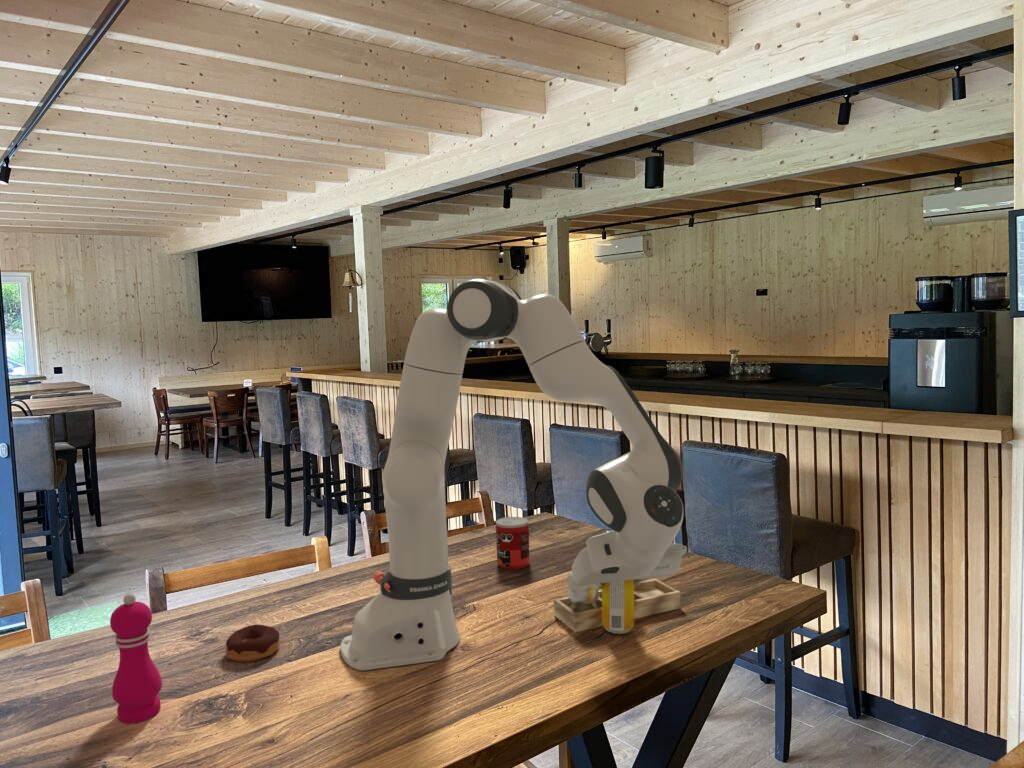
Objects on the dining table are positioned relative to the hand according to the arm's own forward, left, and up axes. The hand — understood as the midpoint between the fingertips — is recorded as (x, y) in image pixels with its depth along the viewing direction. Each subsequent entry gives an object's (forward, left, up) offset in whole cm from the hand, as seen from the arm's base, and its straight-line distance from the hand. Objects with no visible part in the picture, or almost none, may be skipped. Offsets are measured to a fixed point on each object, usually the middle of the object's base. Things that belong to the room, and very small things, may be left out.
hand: (616, 583), depth 147 cm
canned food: (-2, +45, -10) cm, 46 cm away
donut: (-65, +25, -10) cm, 70 cm away
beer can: (0, 0, -9) cm, 9 cm away
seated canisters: (+1, +8, -8) cm, 11 cm away
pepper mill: (-84, +10, -10) cm, 85 cm away
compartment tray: (+5, +8, -10) cm, 14 cm away
